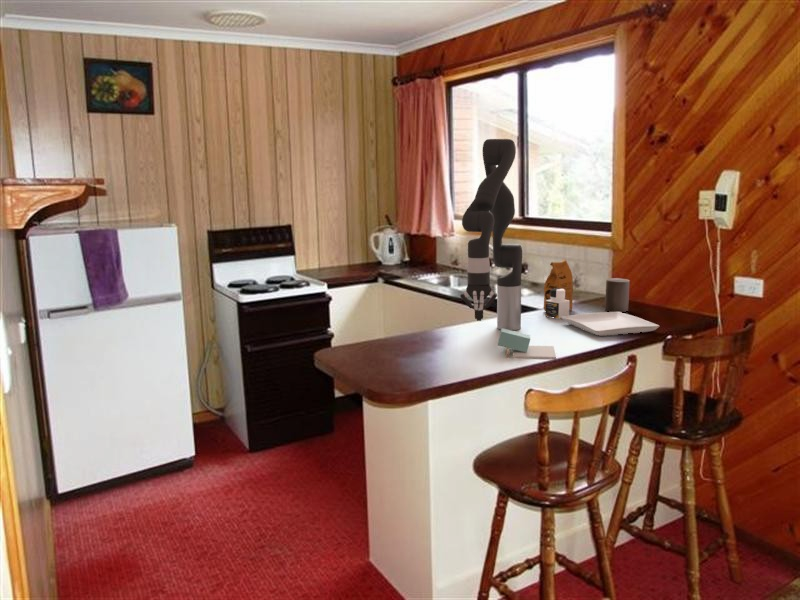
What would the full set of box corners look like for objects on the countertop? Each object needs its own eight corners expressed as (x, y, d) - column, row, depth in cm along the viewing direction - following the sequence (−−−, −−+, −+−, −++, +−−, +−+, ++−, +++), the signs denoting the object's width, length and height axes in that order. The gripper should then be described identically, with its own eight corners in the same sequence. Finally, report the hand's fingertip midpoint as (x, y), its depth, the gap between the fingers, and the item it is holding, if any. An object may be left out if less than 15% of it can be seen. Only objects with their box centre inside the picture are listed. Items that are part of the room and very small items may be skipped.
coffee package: (539, 311, 294) (540, 261, 290) (557, 307, 302) (558, 258, 298) (558, 314, 286) (559, 263, 282) (575, 310, 294) (577, 260, 290)
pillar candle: (605, 312, 287) (607, 278, 285) (604, 308, 297) (605, 274, 294) (629, 313, 285) (631, 279, 282) (627, 309, 294) (629, 275, 292)
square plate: (596, 340, 244) (596, 330, 243) (559, 324, 270) (559, 315, 269) (660, 334, 251) (661, 323, 250) (618, 319, 277) (618, 310, 276)
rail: (507, 346, 237) (507, 341, 236) (509, 346, 236) (509, 341, 236) (506, 357, 223) (506, 351, 223) (509, 357, 223) (509, 351, 223)
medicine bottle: (545, 316, 283) (545, 288, 281) (556, 314, 288) (556, 286, 285) (558, 319, 278) (558, 290, 275) (569, 316, 282) (570, 288, 280)
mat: (512, 347, 236) (512, 345, 236) (553, 347, 234) (553, 346, 234) (512, 357, 223) (512, 356, 223) (556, 358, 220) (556, 356, 220)
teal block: (501, 328, 231) (530, 335, 230) (497, 341, 232) (526, 348, 231) (501, 331, 226) (530, 338, 225) (497, 345, 227) (526, 352, 226)
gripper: (498, 268, 229) (498, 317, 232) (459, 268, 231) (460, 317, 234) (498, 272, 221) (498, 323, 225) (458, 272, 223) (458, 322, 227)
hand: (478, 320), depth 229 cm, fingers closed
